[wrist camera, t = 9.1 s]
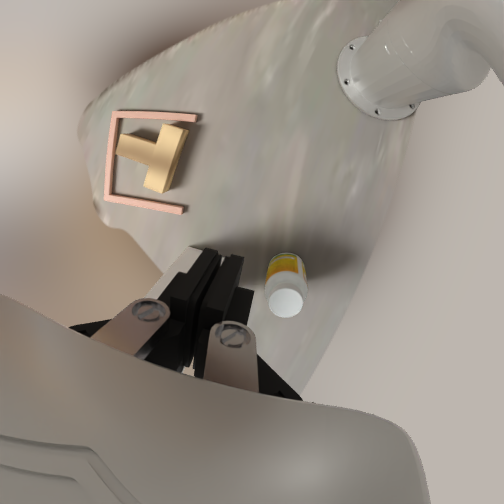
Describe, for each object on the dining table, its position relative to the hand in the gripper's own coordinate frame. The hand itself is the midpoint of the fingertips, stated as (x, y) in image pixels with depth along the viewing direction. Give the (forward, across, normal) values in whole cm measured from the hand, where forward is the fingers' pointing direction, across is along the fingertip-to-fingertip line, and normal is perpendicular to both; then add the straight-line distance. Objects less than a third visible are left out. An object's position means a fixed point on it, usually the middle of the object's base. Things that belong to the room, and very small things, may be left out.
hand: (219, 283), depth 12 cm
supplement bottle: (+26, -6, +11) cm, 29 cm away
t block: (+26, +17, -2) cm, 31 cm away
